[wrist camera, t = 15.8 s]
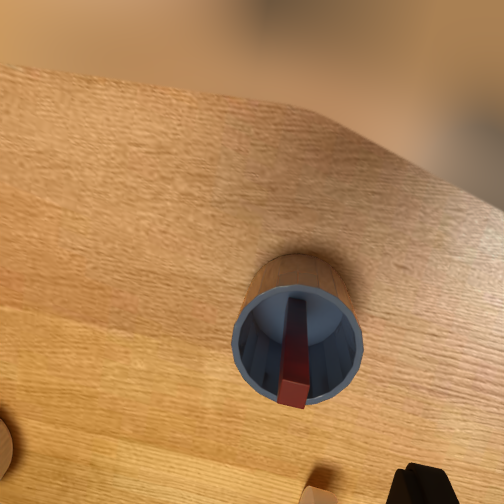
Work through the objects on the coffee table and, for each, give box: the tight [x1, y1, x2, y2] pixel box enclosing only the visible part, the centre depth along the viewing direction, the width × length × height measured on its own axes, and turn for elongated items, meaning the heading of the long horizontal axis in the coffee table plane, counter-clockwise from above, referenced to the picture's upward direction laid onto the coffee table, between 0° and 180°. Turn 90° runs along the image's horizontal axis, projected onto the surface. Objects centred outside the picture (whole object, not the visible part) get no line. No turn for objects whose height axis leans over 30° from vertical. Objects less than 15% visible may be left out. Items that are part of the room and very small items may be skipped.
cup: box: [231, 254, 364, 405], centre depth 34 cm, size 9×9×9 cm
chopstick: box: [277, 297, 310, 409], centre depth 31 cm, size 2×2×14 cm
